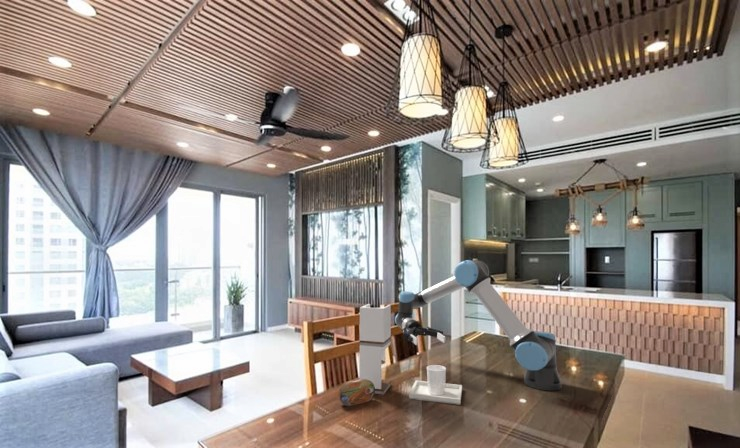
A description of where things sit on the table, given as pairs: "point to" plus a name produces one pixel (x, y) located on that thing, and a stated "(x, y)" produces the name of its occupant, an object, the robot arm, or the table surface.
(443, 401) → the tray
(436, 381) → the white cup
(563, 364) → the table surface
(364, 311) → the white tall box
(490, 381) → the table surface
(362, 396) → the tin
